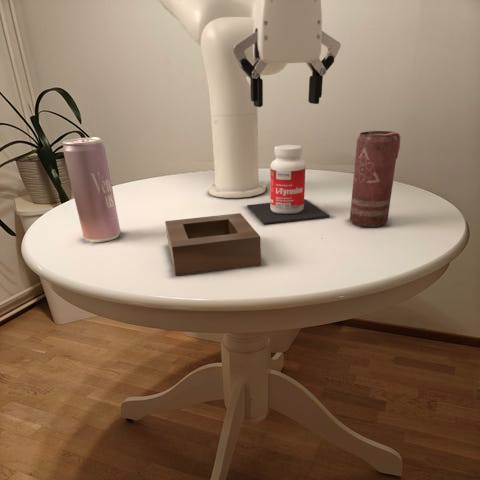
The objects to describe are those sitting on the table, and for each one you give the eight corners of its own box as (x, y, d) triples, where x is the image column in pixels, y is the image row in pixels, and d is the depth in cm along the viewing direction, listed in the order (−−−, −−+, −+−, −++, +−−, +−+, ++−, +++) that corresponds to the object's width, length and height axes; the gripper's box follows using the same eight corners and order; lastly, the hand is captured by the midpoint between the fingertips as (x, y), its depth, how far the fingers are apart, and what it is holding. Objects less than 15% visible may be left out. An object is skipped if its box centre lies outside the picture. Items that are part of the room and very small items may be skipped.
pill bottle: (272, 216, 75) (271, 150, 70) (268, 206, 80) (268, 144, 75) (306, 214, 75) (309, 148, 70) (301, 205, 80) (303, 143, 75)
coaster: (247, 207, 82) (247, 205, 82) (305, 201, 85) (305, 199, 84) (263, 224, 72) (263, 222, 72) (329, 217, 74) (329, 215, 74)
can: (390, 228, 68) (404, 134, 61) (349, 227, 69) (358, 135, 62) (387, 217, 73) (399, 129, 66) (349, 216, 74) (357, 130, 67)
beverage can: (105, 229, 74) (86, 136, 66) (128, 234, 71) (111, 138, 63) (76, 239, 70) (52, 141, 62) (99, 245, 66) (77, 143, 59)
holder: (168, 246, 65) (165, 221, 63) (241, 237, 67) (240, 212, 65) (175, 276, 55) (171, 246, 53) (261, 264, 57) (260, 236, 55)
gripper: (334, -23, 66) (326, 100, 74) (225, -23, 63) (230, 106, 71) (356, -33, 59) (344, 103, 68) (236, -33, 56) (240, 109, 65)
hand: (286, 104), depth 70 cm, fingers open, 9 cm apart
